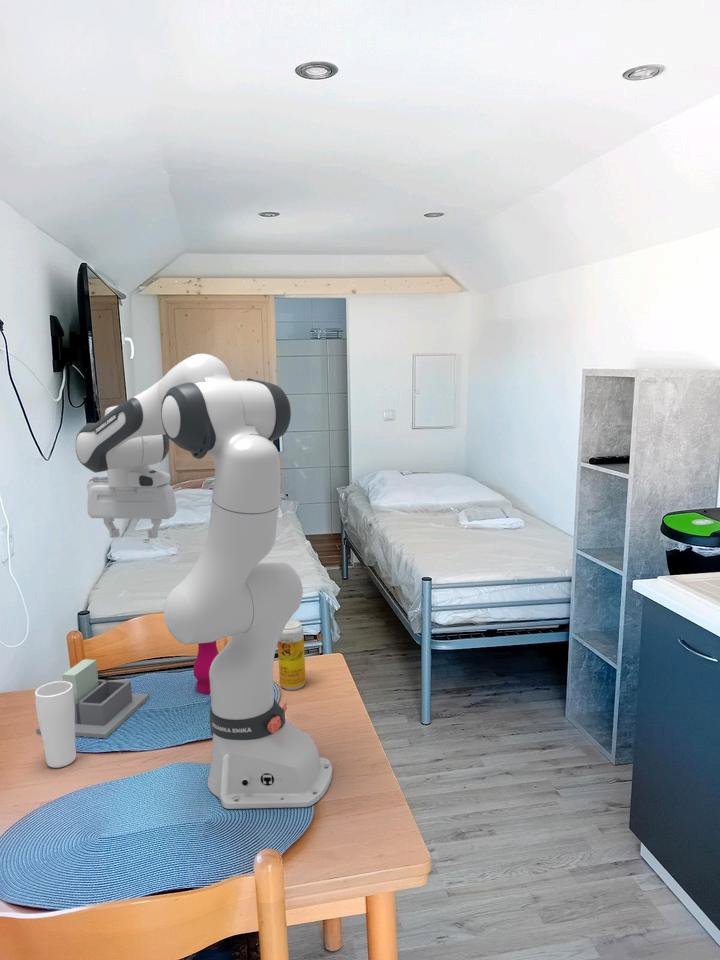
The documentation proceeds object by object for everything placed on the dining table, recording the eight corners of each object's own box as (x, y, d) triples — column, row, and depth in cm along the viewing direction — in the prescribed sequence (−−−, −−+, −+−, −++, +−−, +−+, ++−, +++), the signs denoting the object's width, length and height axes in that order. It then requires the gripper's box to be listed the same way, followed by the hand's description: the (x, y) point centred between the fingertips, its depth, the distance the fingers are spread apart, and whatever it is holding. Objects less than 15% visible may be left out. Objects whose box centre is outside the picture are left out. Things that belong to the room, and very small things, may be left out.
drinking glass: (66, 772, 132) (58, 697, 130) (34, 769, 134) (26, 695, 131) (87, 753, 139) (80, 681, 136) (56, 750, 140) (49, 679, 138)
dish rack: (149, 698, 162) (147, 675, 161) (105, 739, 144) (103, 713, 143) (86, 694, 165) (83, 672, 164) (36, 733, 147) (33, 708, 147)
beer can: (276, 690, 163) (273, 628, 161) (284, 679, 169) (280, 619, 167) (302, 691, 162) (299, 629, 160) (308, 680, 168) (305, 620, 166)
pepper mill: (232, 685, 167) (227, 604, 164) (210, 697, 161) (204, 613, 158) (210, 679, 171) (204, 599, 168) (188, 690, 165) (181, 608, 162)
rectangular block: (100, 702, 158) (96, 659, 157) (79, 719, 151) (75, 675, 149) (88, 701, 159) (84, 659, 157) (67, 718, 151) (62, 674, 150)
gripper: (78, 479, 156) (84, 540, 158) (163, 479, 152) (168, 541, 154) (94, 474, 162) (100, 533, 164) (177, 474, 158) (181, 534, 160)
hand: (133, 537), depth 159 cm, fingers open, 8 cm apart
